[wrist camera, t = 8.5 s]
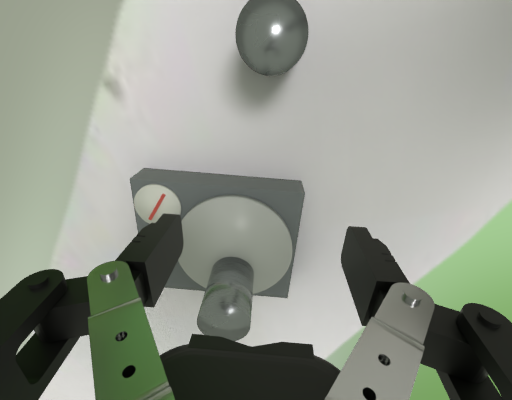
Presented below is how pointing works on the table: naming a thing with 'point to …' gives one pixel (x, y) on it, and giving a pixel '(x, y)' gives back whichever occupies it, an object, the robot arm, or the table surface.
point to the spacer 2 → (271, 35)
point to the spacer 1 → (227, 300)
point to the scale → (225, 223)
